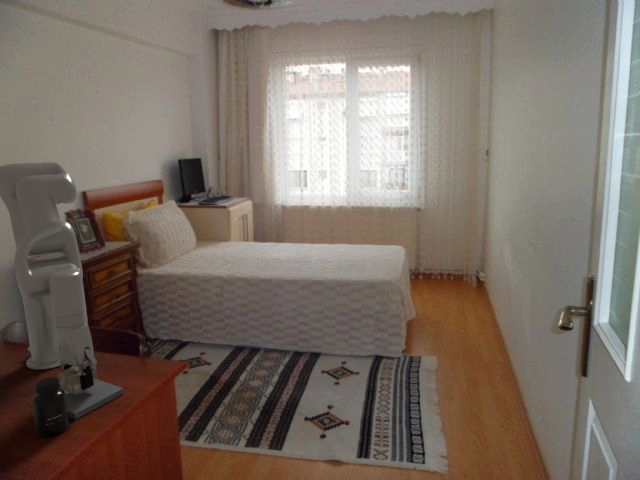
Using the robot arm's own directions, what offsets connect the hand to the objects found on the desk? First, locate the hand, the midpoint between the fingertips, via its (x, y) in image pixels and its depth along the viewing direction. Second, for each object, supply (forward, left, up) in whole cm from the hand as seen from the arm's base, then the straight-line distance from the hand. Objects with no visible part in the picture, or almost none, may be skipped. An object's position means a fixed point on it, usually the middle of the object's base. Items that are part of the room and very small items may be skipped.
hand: (79, 383), depth 127 cm
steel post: (0, 0, -3) cm, 3 cm away
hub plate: (0, 0, -4) cm, 4 cm away
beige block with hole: (0, 0, -1) cm, 1 cm away
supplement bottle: (+7, -12, -4) cm, 15 cm away
